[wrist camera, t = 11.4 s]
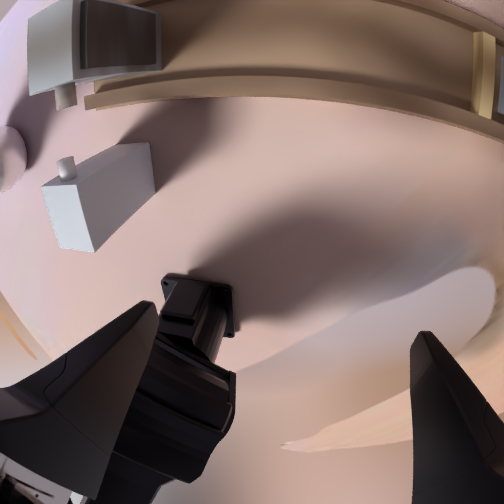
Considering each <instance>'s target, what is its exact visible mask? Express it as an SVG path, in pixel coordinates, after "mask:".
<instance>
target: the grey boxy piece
mask: <svg viewBox="0 0 504 504" xmlns="http://www.w3.org/2000/svg"><path fill="white" fill-rule="evenodd" d="M498 112H499V113H501V114H503V115H504V57H501V79H500V93H499V103H498Z"/></svg>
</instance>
